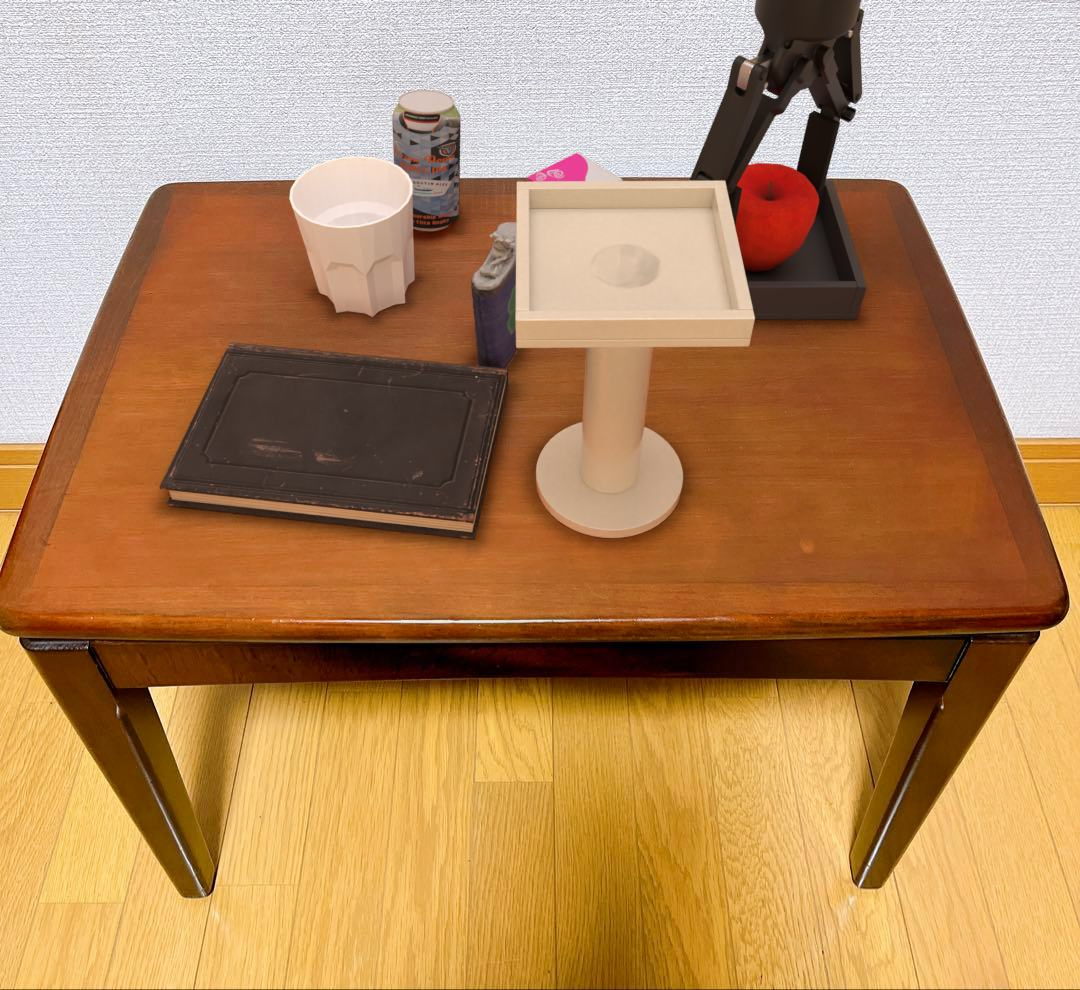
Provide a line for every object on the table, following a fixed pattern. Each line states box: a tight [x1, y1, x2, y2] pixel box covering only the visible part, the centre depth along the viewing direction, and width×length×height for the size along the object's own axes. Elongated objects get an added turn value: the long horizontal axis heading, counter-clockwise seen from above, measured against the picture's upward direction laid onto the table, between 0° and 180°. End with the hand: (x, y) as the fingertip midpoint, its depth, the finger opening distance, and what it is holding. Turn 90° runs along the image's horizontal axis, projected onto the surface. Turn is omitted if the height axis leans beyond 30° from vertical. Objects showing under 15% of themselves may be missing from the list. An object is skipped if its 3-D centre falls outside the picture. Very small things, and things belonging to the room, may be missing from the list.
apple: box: [735, 162, 819, 272], centre depth 89 cm, size 9×9×8 cm
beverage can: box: [391, 89, 461, 232], centre depth 93 cm, size 6×7×12 cm
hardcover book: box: [158, 342, 509, 540], centre depth 78 cm, size 16×23×2 cm
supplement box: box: [526, 151, 624, 182], centre depth 86 cm, size 6×6×12 cm
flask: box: [470, 221, 520, 369], centre depth 82 cm, size 9×3×11 cm, turn 165°
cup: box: [289, 155, 416, 318], centre depth 87 cm, size 10×10×10 cm
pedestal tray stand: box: [515, 180, 755, 539], centre depth 68 cm, size 13×13×22 cm
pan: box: [745, 179, 868, 321], centre depth 91 cm, size 16×16×4 cm
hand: (763, 216), depth 89 cm, fingers open, 13 cm apart
